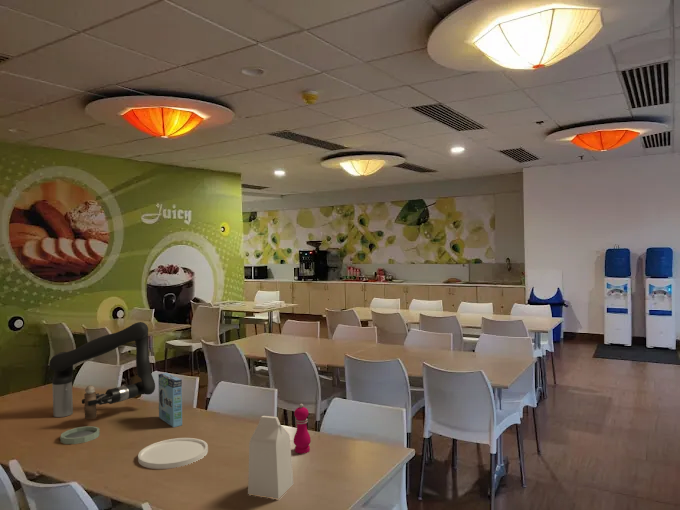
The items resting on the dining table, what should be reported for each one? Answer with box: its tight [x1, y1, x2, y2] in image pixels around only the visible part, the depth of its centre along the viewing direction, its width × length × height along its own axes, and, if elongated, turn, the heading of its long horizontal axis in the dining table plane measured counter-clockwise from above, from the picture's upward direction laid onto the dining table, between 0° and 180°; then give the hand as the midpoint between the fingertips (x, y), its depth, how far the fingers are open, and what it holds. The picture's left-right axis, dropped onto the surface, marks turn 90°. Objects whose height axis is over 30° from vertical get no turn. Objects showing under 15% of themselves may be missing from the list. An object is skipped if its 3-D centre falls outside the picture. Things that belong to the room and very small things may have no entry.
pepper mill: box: [293, 403, 312, 455], centre depth 215 cm, size 7×7×20 cm
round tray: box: [59, 425, 100, 445], centre depth 238 cm, size 16×16×2 cm
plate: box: [137, 437, 209, 470], centre depth 214 cm, size 28×28×2 cm
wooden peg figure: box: [83, 385, 97, 420], centre depth 255 cm, size 5×5×16 cm
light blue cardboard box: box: [157, 372, 183, 428], centre depth 257 cm, size 20×5×23 cm, turn 39°
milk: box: [247, 415, 294, 500], centre depth 180 cm, size 12×12×26 cm
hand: (85, 402), depth 253 cm, fingers closed on wooden peg figure, 5 cm apart
